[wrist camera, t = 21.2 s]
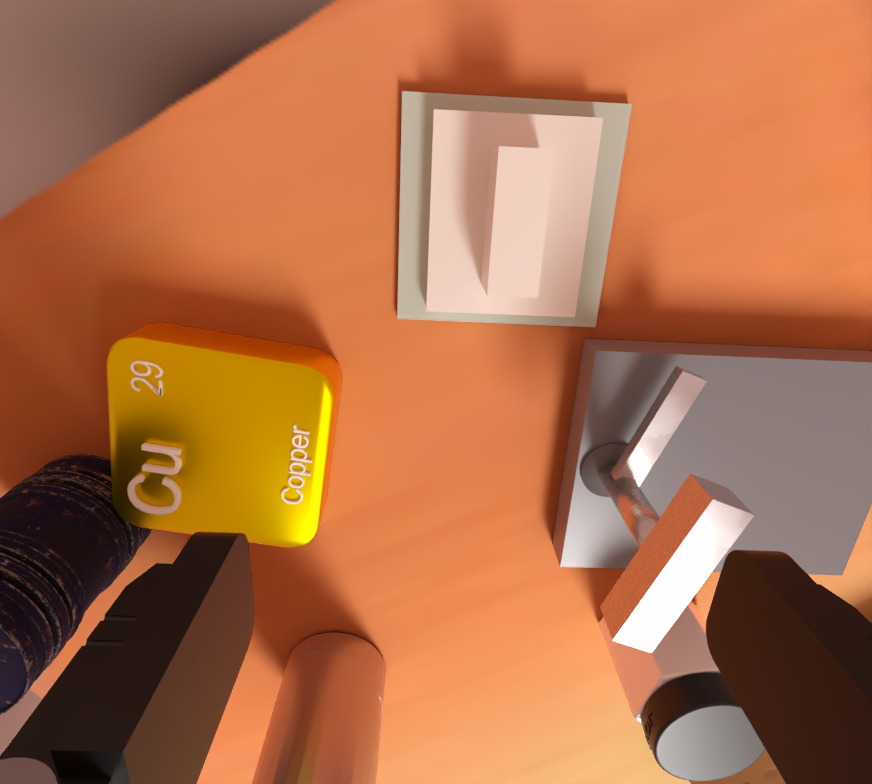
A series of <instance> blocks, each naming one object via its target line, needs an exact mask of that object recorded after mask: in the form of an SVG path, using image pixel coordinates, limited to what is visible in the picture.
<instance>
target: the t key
mask: <svg viewBox="0 0 872 784" xmlns="http://www.w3.org/2000/svg"><path fill="white" fill-rule="evenodd" d="M706 382H707V381H706V380H705V379H704V378H702V377H701V376H699V375H697V374H695V373H692V372H690V371H688V370H685V369H683V368H680V367H678V366H676V367H675V368H674V370H673V371H672V373H671V375H670V376H669V378H668V380H667V381H666V383H665V385H664V386H663V388H662V389H661V391H660V393H659V394H658V396H657V398H656V399H655V401H654V403H653V404H652V406H651V407H650V409H649V411H648V412H647V414H646V416H645V417H644V419H643V420H642V422H641V424H640V425H639V427H638V429H637V430H636V432H635V434H634V435H633V437H632V438H631V440H630V442H629V443H628V445H627V447H626V448H625V450H624V452H623V453H622V455H621V456H620V458H619V460H618V461H612V462H609V463H607V464H605V465H604V466H603V467H602V468H601V470H600V473H599V477H600V480H601V481H602V483H603V485H604V487H605V489H606V490H607V492H608V494H609V496H610V497H611V499H612V501H613V503H614V504H615V506H616V508H617V510H618V511H619V513H620V515H621V517H622V518H623V520H624V522H625V524H626V525H627V527H628V529H629V531H630V533H631V534H632V536H633V538H634V540H635V541H636V543H637V545H638V547H639V550H638V551H637V553H636V554H635V556H634V557H633V559H632V560H631V562H630V563H629V565H628V566H627V567H626V569H625V570H624V572H623V573H622V575H621V576H620V578H619V579H618V581H617V582H616V584H615V585H614V587H613V588H612V590H611V591H610V593H609V594H608V596H607V597H606V599H605V600H604V602H603V603H602V605H601V606H600V609H601V612H602V614H603V617H604V619H605V622H606V624H607V627H608V629H609V632H610V634H611V637H612V639H613V641H616V642H619V643H622V644H626V645H629V646H632V647H635V648H638V649H641V650H644V651H647V652H651V653H652V651H653V650H654V649H655V647H656V646H657V645H658V643H659V642H660V641H661V639H662V638H663V637H664V635H665V634H666V633H667V631H668V630H669V629H670V627H671V626H672V625H673V623H674V622H675V621H676V619H677V618H678V617H679V615H680V614H681V613H682V611H683V610H684V609H685V607H686V606H687V605H688V603H689V602H690V601H691V599H692V598H693V597H694V595H695V594H696V593H697V591H698V590H699V589H700V587H701V586H702V585H703V583H704V582H705V581H706V579H707V578H708V577H709V575H710V574H711V573H712V571H713V570H714V569H715V567H716V566H717V565H718V563H719V562H720V561H721V559H722V558H723V557H724V555H725V554H726V553H727V551H728V550H729V549H730V547H731V546H732V545H733V543H734V542H735V541H736V539H737V538H738V537H739V535H740V534H741V533H742V531H743V530H744V529H745V527H746V526H747V525H748V523H749V522H750V521H751V519H752V518H753V517H754V514H753V513H752V512H751V511H750V510H749V509H748V508H747V507H746V506H745V505H744V504H743V502H742V501H741V500H740V499H739V498H738V497H737V496H736V495H735V494H734V493H733V492H732V491H731V490H730V489H729V488H727V487H724V486H721V485H719V484H716V483H714V482H711V481H709V480H706V479H703V478H701V477H698V476H696V475H693V474H689V476H688V477H687V479H686V480H685V482H684V483H683V484H682V486H681V487H680V489H679V490H678V492H677V493H676V495H675V496H674V498H673V499H672V501H671V502H670V504H669V505H668V507H667V508H666V510H665V511H664V513H663V514H662V516H661V517H659V515H658V514H657V512H656V511H655V509H654V508H653V506H652V505H651V503H650V502H649V500H648V499H647V498H646V496H645V495H644V493H643V492H642V490H641V489H640V487H639V486H640V485H641V483H642V482H643V480H644V479H645V477H646V476H647V474H648V472H649V471H650V469H651V468H652V466H653V465H654V463H655V462H656V460H657V458H658V457H659V455H660V454H661V452H662V451H663V449H664V448H665V446H666V444H667V443H668V441H669V440H670V438H671V437H672V435H673V434H674V432H675V430H676V429H677V427H678V426H679V424H680V423H681V421H682V419H683V418H684V416H685V415H686V413H687V412H688V410H689V409H690V407H691V405H692V404H693V402H694V401H695V399H696V398H697V396H698V395H699V393H700V391H701V390H702V388H703V387H704V385H705V384H706Z"/></svg>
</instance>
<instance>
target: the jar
mask: <svg viewBox="0 0 872 784" xmlns="http://www.w3.org/2000/svg"><path fill="white" fill-rule="evenodd" d="M599 627H600V629H601V632H602V635H603V637H604V640H605V642H606V645H607V648H608V650H609V653H610V656H611V658H612V661H613V664H614V666H615V669H616V671H617V674H618V677H619V679H620V682H621V685H622V687H623V690H624V692H625V695H626V698H627V700H628V703H629V706H630V708H631V711H632V713H633V716H634V718H635V719H636V720H637V721H638V722H639V723H640V724H641V725H642V726H643V729H644V732H645V735H646V736H645V737H646V739H647V742H648V744H649V747H650V749H651V750H652V752H653V754H654V757H655V759H656V761H657V763H658V764H659V765H660V767H661V768H662V769H664V770H665V771H666V772H668V773H669V774H671V775H673V776H675V777H677V778H681V779H684V780H690V781H712V780H718V779H722V778H726V777H729V776H732V775H734V774H737V773H739V772H741V771H743V770H744V769H746V768H747V767H749V766H750V765H752V764H753V763H754V762H755V761H756V760H757V759H758V758H759V757H760V756H761V755H762V754H763V752H764V751H765V747H764V746H763V744H762V742H761V740H760V739H759V737H758V735H757V734H756V732H755V730H754V729H753V727H752V725H751V723H750V722H749V720H748V718H747V717H746V715H745V713H744V712H743V710H742V708H741V707H740V705H739V703H738V701H737V700H736V698H735V696H734V695H733V693H732V691H731V690H730V688H729V686H728V684H727V683H726V681H725V679H724V678H723V676H722V674H721V673H720V671H719V669H718V667H717V666H716V664H715V662H714V660H713V659H712V656H711V654H710V651H709V648H708V644H707V638H706V620H705V618H704V616H703V615H702V613H701V612H700V610H699V608H698V607H697V606H696V605H695V604H694V603H693V602H692V601H690V602H689V603H688V605H687V606H686V607H685V609H684V610H683V611H682V613H681V614H680V615H679V617H678V618H677V619H676V621H675V622H674V623H673V625H672V626H671V627H670V629H669V630H668V631H667V633H666V634H665V635H664V637H663V638H662V639H661V641H660V642H659V643H658V645H657V646H656V647H655V649H654V650H653V651H652V653H651V652H647V651H644V650H641V649H638V648H635V647H632V646H629V645H626V644H622V643H619V642H616V641H613V639H612V637H611V634H610V632H609V629H608V627H607V624H606V622H605V619H604V617H602V619H601V620H600V622H599Z"/></svg>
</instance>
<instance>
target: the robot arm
mask: <svg viewBox="0 0 872 784" xmlns="http://www.w3.org/2000/svg"><path fill="white" fill-rule="evenodd" d="M254 615H255V605H254V595H253V585H252V575H251V565H250V555H249V545H248V540H247V537H246V535H245V534H244V533H225V532H196V533H194V534H193V535H192V536H191V537H190V539H189V540H188V542H187V543H186V545H185V546H184V548H183V549H182V551H181V552H180V554H179V555H178V557H177V558H176V560H175V561H174V563H173V564H159V563H157V564H155V565H154V566H153V567H151V568H150V569H149V570H147V571H146V572H145V573H143V574H142V575H141V576H139V577H138V578H137V579H135V580H134V581H133V582H131V583H130V584H129V585H127V586H126V587H125V588H124V590H123V591H122V592H121V594H120V595H119V596H118V598H117V599H116V601H115V602H114V603H113V605H112V606H111V607H110V609H109V610H108V611H107V613H106V614H105V619H104V621H100V622H99V624H98V625H97V626H96V628H95V629H94V630H93V632H92V633H91V634H90V636H89V637H88V638H87V643H86V645H85V646H82V647H81V648H80V649H79V651H78V652H77V653H76V655H75V656H74V657H73V659H72V660H71V662H70V663H69V664H68V666H67V667H66V668H65V670H64V671H63V672H62V674H61V675H60V676H59V678H58V679H57V680H56V682H55V683H54V685H53V686H52V687H51V689H50V690H49V691H48V693H47V694H46V695H45V697H44V698H43V699H42V701H41V702H40V704H39V705H38V706H37V708H36V709H35V710H34V712H33V713H32V714H31V716H30V717H29V718H28V720H27V721H26V722H25V724H24V725H23V727H22V728H21V729H20V731H19V732H18V734H17V735H16V736H15V738H14V739H13V740H12V741H11V743H10V744H9V746H8V747H7V748H6V749H5V751H4V752H3V753H2V754H1V756H0V784H196V783H197V781H198V778H199V775H200V773H201V770H202V767H203V765H204V762H205V760H206V757H207V754H208V752H209V749H210V747H211V744H212V741H213V739H214V736H215V733H216V731H217V728H218V726H219V723H220V720H221V718H222V715H223V713H224V710H225V707H226V705H227V702H228V699H229V697H230V694H231V692H232V689H233V686H234V684H235V681H236V679H237V676H238V673H239V671H240V668H241V665H242V663H243V660H244V658H245V655H246V652H247V650H248V647H249V644H250V640H251V636H252V631H253V625H254ZM706 638H707V644H708V648H709V651H710V654H711V656H712V659H713V660H714V662H715V664H716V666H717V667H718V669H719V671H720V673H721V674H722V676H723V678H724V679H725V681H726V683H727V684H728V686H729V688H730V690H731V691H732V693H733V695H734V696H735V698H736V700H737V701H738V703H739V705H740V707H741V708H742V710H743V712H744V713H745V715H746V717H747V718H748V720H749V722H750V723H751V725H752V727H753V729H754V730H755V732H756V734H757V735H758V737H759V739H760V740H761V742H762V744H763V746H764V747H765V749H766V751H767V752H768V754H769V756H770V757H771V759H772V761H773V763H774V764H775V766H776V768H777V769H778V771H779V773H780V774H781V776H782V778H783V780H784V781H785V783H786V784H872V624H871V623H870V622H869V621H868V620H867V619H866V618H865V617H864V616H863V615H862V614H861V613H860V612H859V611H858V610H857V609H856V608H854V607H853V606H851V605H850V604H848V603H847V602H845V601H844V600H843V599H841V598H840V597H838V596H837V595H835V594H834V593H832V592H831V591H829V590H828V589H826V588H825V587H823V586H822V585H820V584H816V583H815V582H814V581H813V580H812V579H811V578H810V577H809V576H808V574H807V573H806V572H805V571H804V570H803V569H802V568H801V567H800V566H799V565H798V564H797V563H796V562H795V561H794V560H793V559H792V558H791V557H790V556H789V555H788V554H786V553H784V552H781V551H757V550H733V551H731V552H730V553H729V554H728V555H727V557H726V559H725V561H724V565H723V568H722V571H721V574H720V578H719V581H718V584H717V587H716V591H715V594H714V597H713V601H712V604H711V607H710V610H709V614H708V617H707V621H706ZM385 668H386V667H385V663H384V660H383V658H382V656H381V654H380V653H379V652H378V650H377V649H376V648H375V647H374V646H373V645H371V644H370V643H368V642H367V641H366V640H363V639H361V638H359V637H357V636H354V635H350V634H346V633H337V632H333V633H322V634H318V635H314V636H312V637H309V638H307V639H305V640H304V641H302V642H301V643H299V644H298V645H297V646H296V647H295V648H294V649H293V650H292V652H291V654H290V656H289V658H288V662H287V665H286V669H285V672H284V675H283V679H282V682H281V686H280V689H279V693H278V695H277V699H276V702H275V706H274V709H273V713H272V716H271V719H270V723H269V726H268V730H267V733H266V737H265V740H264V744H263V747H262V750H261V754H260V757H259V761H258V764H257V768H256V771H255V775H254V778H253V781H252V784H376V774H377V763H378V751H379V740H380V728H381V717H382V708H383V696H384V684H385Z"/></svg>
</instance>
